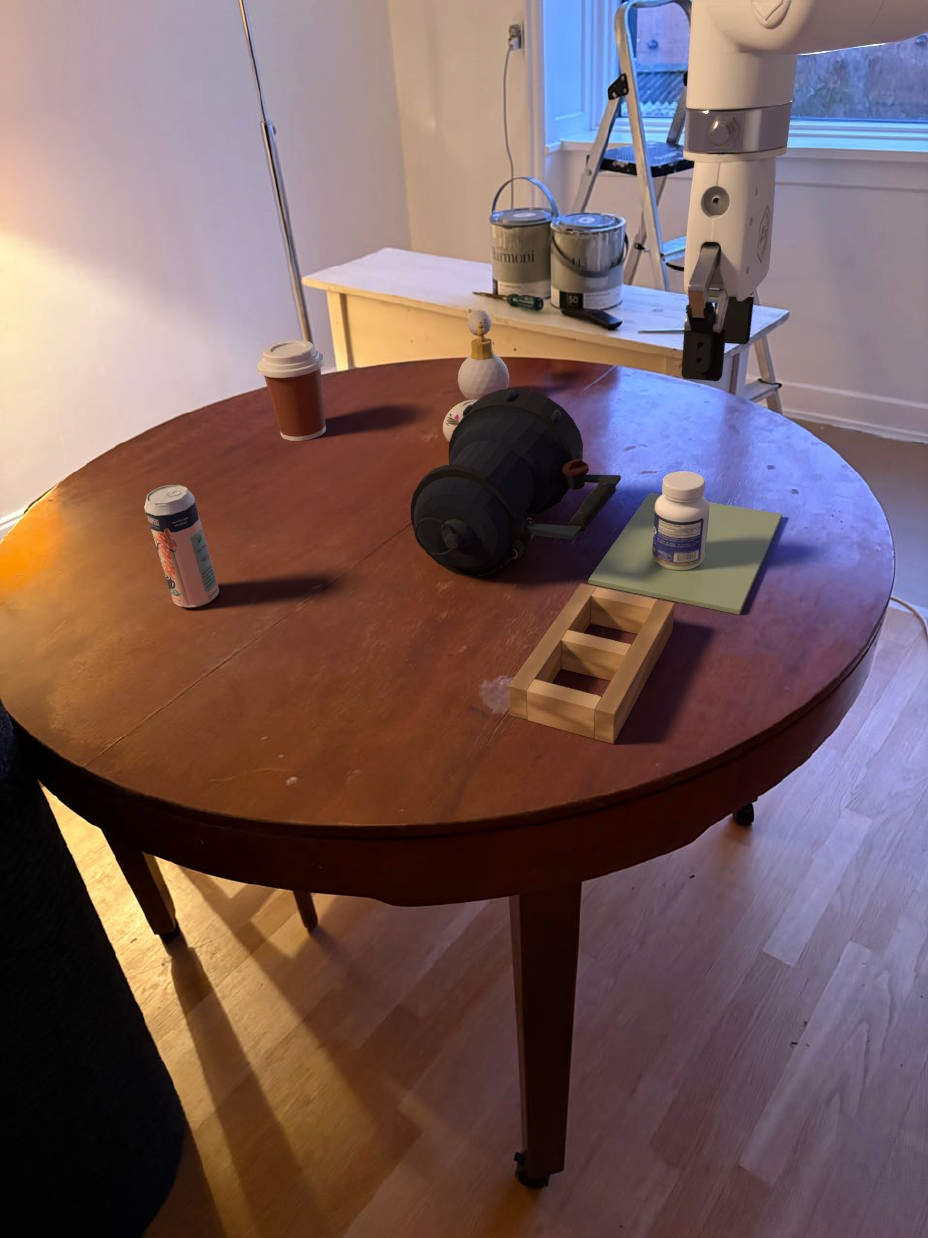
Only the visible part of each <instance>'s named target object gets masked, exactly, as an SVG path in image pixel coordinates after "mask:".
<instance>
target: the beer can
mask: <svg viewBox="0 0 928 1238" xmlns="http://www.w3.org/2000/svg"><path fill="white" fill-rule="evenodd" d="M143 509H144V512H145V514H146V518H147V521H148V524H149V528H150V531H151V533H152V537H153V540H154V544H155V547H156V550H157V553H158V557H159V559H160V563H161V566H162V568H163V573H164V575H165V579H166V582H167V586H168V589H169V592H170V595H171V596H170V597H171V599H172V602H173V603H174V604H175V605H176V606H179V607H181V608H189V609H193V608H200V607H204V606H206V605H207V604H209V603H211V602H212V601H213V600H214V599H216V597H217V596H218V595H219V593H220V588H219V586H218V582H217V578H216V574H215V571H214V567H213V564H212V563H213V562H212V559H211V556H210V552H209V548H208V545H207V540H206V537H205V534H204V529H203V526H202V523H201V519H200V513H199V511H198V507H197V503H196V498H195V495H194V494H193V493H192V492H191V491H190V490H189V489H188V488H187V486H184V485H182V484H181V485H180V484H168V485H163V486H160V487H157V488H155V489H153V490H152V491H150V492H149V493H148V494H147V495H146V499H145V504H144V507H143Z"/></svg>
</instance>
